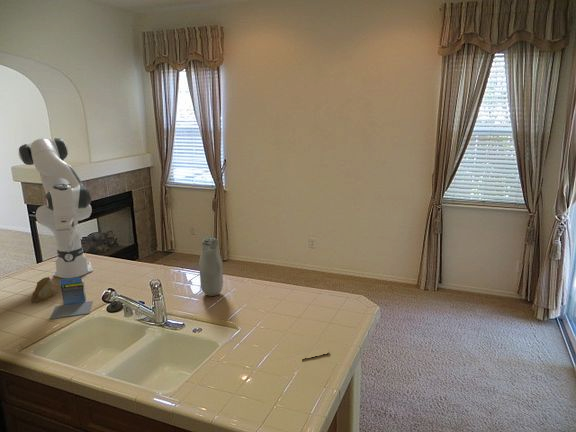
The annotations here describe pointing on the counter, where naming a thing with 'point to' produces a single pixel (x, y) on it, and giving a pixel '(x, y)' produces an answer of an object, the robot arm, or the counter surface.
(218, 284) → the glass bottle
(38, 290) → the rock
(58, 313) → the mat
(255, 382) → the counter surface
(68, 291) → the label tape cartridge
